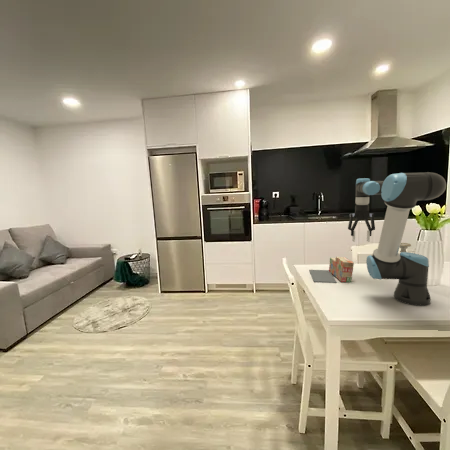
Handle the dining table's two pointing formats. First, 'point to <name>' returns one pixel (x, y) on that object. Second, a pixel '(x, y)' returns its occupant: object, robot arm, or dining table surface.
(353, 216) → the robot arm
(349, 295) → the dining table surface
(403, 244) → the candle holder
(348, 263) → the stack of blocks
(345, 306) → the dining table surface
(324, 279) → the mat
